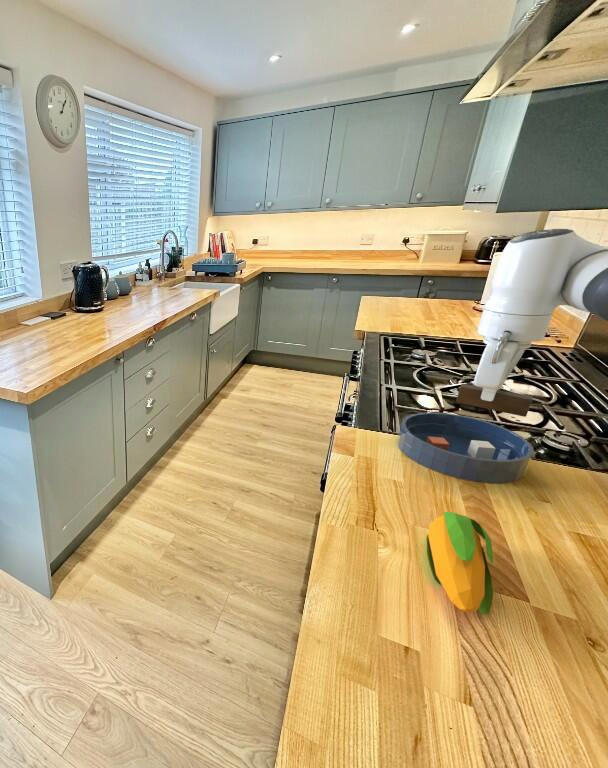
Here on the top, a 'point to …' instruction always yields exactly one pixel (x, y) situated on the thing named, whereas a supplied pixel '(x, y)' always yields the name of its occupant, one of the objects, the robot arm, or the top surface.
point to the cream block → (481, 449)
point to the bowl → (465, 447)
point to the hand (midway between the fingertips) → (488, 396)
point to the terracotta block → (438, 442)
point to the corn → (461, 561)
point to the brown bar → (495, 400)
